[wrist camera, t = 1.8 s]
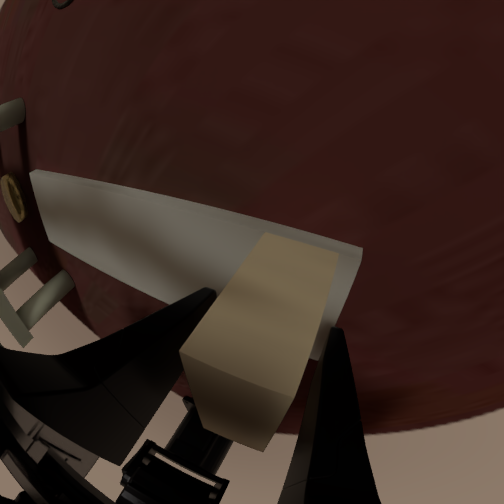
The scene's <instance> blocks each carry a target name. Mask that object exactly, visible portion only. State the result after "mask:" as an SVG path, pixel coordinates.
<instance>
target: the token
mask: <svg viewBox="0 0 504 504" xmlns="http://www.w3.org/2000/svg"><path fill="white" fill-rule="evenodd" d="M1 189H2V193H3V196H4V199H5V202H6V205H7V207H8V209H9V211H10V213H11V214H12V216H13V218H14V219H15V220H16V221H17V222H19V223H20V222H21V221H22V220H24V219H25V218H27V216H28V208H27V203H26V199H25V196H24V193H23V190H22V188H21V185H20V183H19V181H18V179H17V177H16V176H15V175H14V173H12V172H9V173H8V174H6V175H4V176H3V177H2V178H1Z"/></svg>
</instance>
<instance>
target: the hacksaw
mask: <svg viewBox="0 0 504 504" xmlns="http://www.w3.org/2000/svg"><path fill="white" fill-rule="evenodd" d="M71 1H72V0H67V1H65V2H64V3H62V4H59V3H58V2H57V0H52V3H53V5H54V7H56V8H58V9H62V8H64V7H66V6H67V5H69V4H70V2H71Z"/></svg>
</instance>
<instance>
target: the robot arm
mask: <svg viewBox="0 0 504 504" xmlns="http://www.w3.org/2000/svg"><path fill="white" fill-rule="evenodd" d="M216 299H217V293H216V290H214V289H212V288H209V287H203V288H201V289H199V290H197V291H196V292H194V293H192V294H190V295H188V296H186V297H184V298H182V299H180V300H178V301H176V302H174V303H172V304H170V305H168V306H166V307H164V308H162V309H160V310H158V311H157V312H155V313H153V314H151V315H149V316H147V317H145V318H143V319H141V320H139V321H137V322H135V323H133V324H131V325H129V326H127V327H125V328H124V329H121V330H119V331H117V332H115V333H113V334H111V335H109V336H107V337H104V338H102V339H100V340H98V341H95V342H93V343H90V344H88V345H85V346H82V347H79V348H77V349H74V350H72V351H69V352H66V353H63V354H59V355H43V354H35V353H28V352H22V351H15V350H10V349H6V348H4V347H3V346H2V345H1V343H0V459H1V460H2V462H3V463H4V465H5V466H6V467H7V469H8V470H9V471H10V473H11V474H12V475H13V477H14V478H15V479H16V481H17V482H18V483H19V484H20V486H21V487H22V488H23V489H24V491H22V492H20V493H19V494H18V496H17V497H16V499H15V500H12V499H9V498H6V497H2V496H1V495H0V504H219V503H220V501H221V499H222V497H223V494H224V493H225V490H226V488H227V486H228V484H229V482H230V481H229V480H226V479H222V478H220V477H218V476H215V474H216V473H217V470H218V469H219V467H220V465H221V464H222V462H223V460H224V458H225V456H226V454H227V453H228V451H229V449H230V447H231V445H232V443H233V441H232V440H230V439H228V438H225V437H223V436H221V435H218V434H216V433H214V432H212V431H209V430H207V429H205V428H203V425H202V422H201V420H200V417H199V414H198V411H197V408H196V405H195V402H194V400H192V399H190V398H188V397H184V398H183V399H182V400H183V402H184V405H185V407H186V408H187V410H188V413H187V414H186V416H185V417H184V419H183V420H182V422H181V424H180V425H179V427H178V428H177V430H176V432H175V433H174V435H173V436H172V438H171V439H170V441H169V443H168V444H167V445H166V447H165V448H164V449H163V448H161V447H160V446H158V445H156V443H155V442H153V441H150V440H148V439H147V440H146V441H145V442H144V444H143V446H142V447H141V448H140V449H139V451H138V452H137V453H136V454H135V455H134V456H133V457H132V459H130V461H129V462H128V463H127V464H126V465H125V466H124V467H123V468H122V473H123V476H122V480H121V482H120V484H121V485H122V486H124V489H123V490H122V492H121V494H120V495H119V497H118V498H117V500H116V502H113V501H112V500H111V499H109V498H108V497H107V496H105V495H104V494H103V493H102V492H100V491H99V490H98V489H96V488H95V487H94V486H93V485H92V484H90V483H89V482H88V481H87V480H86V479H84V478H85V476H86V475H87V474H88V472H89V471H90V469H91V468H92V467H93V465H94V464H95V463H96V461H97V460H98V458H99V457H101V458H103V459H105V460H108V461H109V462H111V463H114V464H116V465H118V466H120V465H121V464H122V463H123V461H124V460H125V458H126V457H127V455H128V454H129V452H130V451H131V449H132V448H133V446H134V445H135V443H136V442H137V440H138V439H139V437H140V436H141V434H142V433H143V431H144V430H145V428H146V426H147V425H148V424H149V422H150V420H151V419H152V417H153V416H154V414H155V413H156V411H157V410H158V408H159V407H160V405H161V404H162V402H163V401H164V399H165V398H166V396H167V395H168V393H169V392H170V390H171V389H172V387H173V386H174V384H175V382H176V381H177V379H178V378H179V376H180V375H181V373H182V372H183V370H184V367H183V364H182V360H181V357H180V353H179V350H180V349H181V347H182V346H183V344H184V343H185V342H186V340H187V339H188V337H189V336H190V335H191V333H192V332H193V331H194V329H195V328H196V326H197V325H198V324H199V322H200V321H201V320H202V318H203V317H204V315H205V314H206V313H207V311H208V310H209V308H210V307H211V306H212V304H213V303H214V302H215V300H216ZM360 420H361V416H360V410H359V404H358V398H357V393H356V387H355V382H354V377H353V372H352V367H351V362H350V358H349V353H348V348H347V344H346V339H345V335H344V331H343V329H341V328H338V327H334V326H332V327H331V328H330V330H329V333H328V335H327V338H326V340H325V343H324V346H323V349H322V352H321V356H320V359H319V362H318V365H317V368H316V371H315V373H314V376H313V379H312V382H311V386H310V390H309V394H308V399H307V403H306V407H305V411H304V416H303V420H302V424H301V427H300V431H299V435H298V439H297V442H296V446H295V450H294V453H293V457H292V461H291V463H290V467H289V470H288V473H287V476H286V480H285V483H284V486H283V490H282V492H281V495H280V498H279V501H278V504H381V502H380V499H379V496H378V493H377V489H376V485H375V481H374V477H373V473H372V469H371V466H370V462H369V458H368V454H367V449H366V446H365V439H364V434H363V428H362V422H361V421H360ZM155 453H158V454H160V455H162V456H163V457H165V458H167V459H169V460H170V461H172V462H174V463H176V464H178V465H179V466H181V467H183V468H185V469H187V470H189V471H191V472H193V473H196V474H197V475H199V476H201V477H204V478H206V479H208V480H210V481H212V482H215V483H216V484H215V485H214V486H211V485H209V484H207V483H205V482H202V481H201V480H198V479H196V478H194V477H192V476H190V475H188V474H186V473H184V472H182V471H181V470H179V469H177V468H175V467H173V466H171V465H169V464H168V463H166V462H164V461H162V460H161V459H159V458H157V457H156V456H154V455H155Z"/></svg>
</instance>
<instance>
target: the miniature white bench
mask: <svg viewBox="0 0 504 504" xmlns="http://www.w3.org/2000/svg"><path fill="white" fill-rule="evenodd" d="M24 119H25V105H24V101H23V99H22V98H18V99H15V100H12V101H10V102H7V103H4V104H2V105H0V132H2V131H4V130H6V129H8V128H10V127H13V126H15V125H17V124H20V123H22V122H23V121H24ZM36 262H37V258H36V255H35V253H34V252H33V250H32V249H31V248H30V247H29V248H27V249H26V250H25V251H23V252H22V253H21V254H20V255H18V256H17V257H16V258H15V259H14V260H12V261H11V262H10V263H9V264H8V265H6V266H5V267H4V268H3V269H2V270H0V318H1V320H2V321H3V322H4V324H5V325H6V327H7V328H8V329H9V331H10V332H11V333H12V335H13V336H14V337H15V339H16V340H17V341H18V342H19V344H20V345H21V346H22V347H23V348H24V347H25V346H26V345H27V344H28V343H29V341H30V340H31V339H32V338H33V336H32V335H31V333H30V332H29V330H30V329H31V328H32V327H33V326H34V325H35V324H36V323H37V322H38V321H39V320H40V319H41V318H42V317H43V316H44V315H45V314H46V313H47V312H48V311H49V310H50V309H51V308H52V307H53V306H54V305H55V304H56V303H57V302H59V301H60V300H61V299H62V298H63V297H64V296H65V295H66V294H67V293H68V292H69V291H70V290H71V289H73V288H74V287H75V284H74V282H73V280H72V278H71V277H70V275H69V274H68V273H67V272H66V271H65V270H61V271H60V272H59V273H58V274H56V275H55V276H54V277H53V278H52V279H51V280H50V281H48V282H47V283H46V284H45V285H44V286H43V287H42V288H41V289H40V290H38V291H37V292H36V293H35V294H34V295H33V296H32V297H31V298H30V299H29V300H28V301H27V302H26V303H24V304H23V305H22V306H21V307H20V308H19V309H18V310H17V311H16V312H15V310H14V309H13V307H12V305H11V304H10V302H9V301H8V299H7V297H6V296H5V294H4V292H3V291H4V290H5V289H6V288H7V287H9V286H10V285H11V284H12V283H13V282H14V281H15V280H16V279H17V278H19V277H20V276H21V275H22V274H23V273H24V272H26V271H27V270H28V269H29V268H30V267H32V266H33V265H34V264H35V263H36Z"/></svg>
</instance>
